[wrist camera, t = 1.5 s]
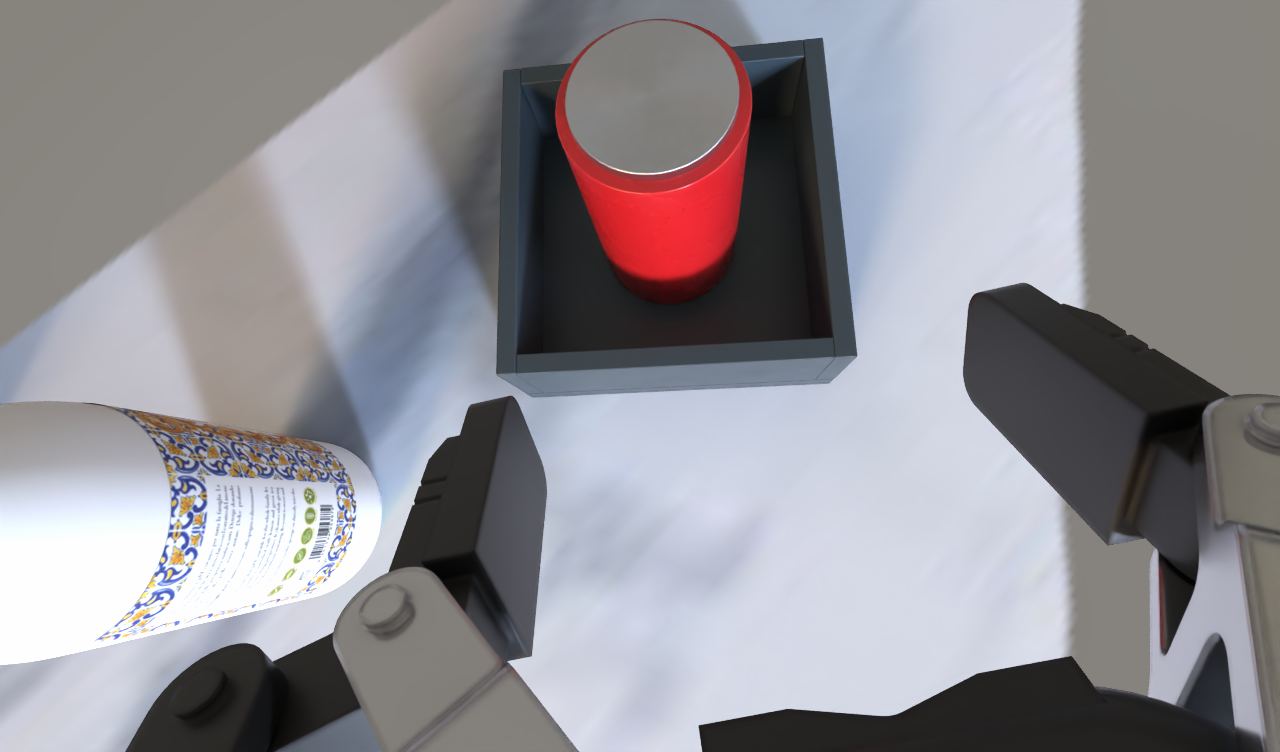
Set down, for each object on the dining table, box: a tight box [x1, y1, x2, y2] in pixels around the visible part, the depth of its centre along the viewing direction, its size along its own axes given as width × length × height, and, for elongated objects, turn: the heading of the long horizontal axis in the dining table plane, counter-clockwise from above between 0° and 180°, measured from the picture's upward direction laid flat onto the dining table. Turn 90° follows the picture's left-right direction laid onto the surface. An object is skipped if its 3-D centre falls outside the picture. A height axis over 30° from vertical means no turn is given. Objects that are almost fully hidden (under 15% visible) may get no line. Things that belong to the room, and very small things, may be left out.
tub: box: [496, 38, 857, 397], centre depth 26 cm, size 14×14×5 cm
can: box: [555, 19, 752, 304], centre depth 23 cm, size 6×6×10 cm
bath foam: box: [0, 401, 382, 665], centre depth 18 cm, size 7×7×20 cm
